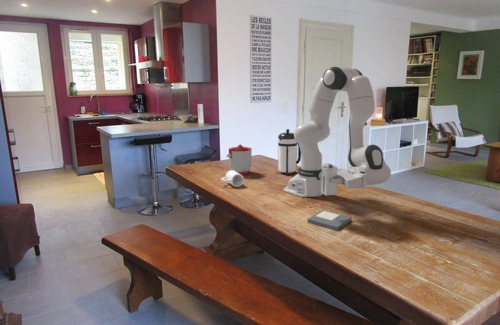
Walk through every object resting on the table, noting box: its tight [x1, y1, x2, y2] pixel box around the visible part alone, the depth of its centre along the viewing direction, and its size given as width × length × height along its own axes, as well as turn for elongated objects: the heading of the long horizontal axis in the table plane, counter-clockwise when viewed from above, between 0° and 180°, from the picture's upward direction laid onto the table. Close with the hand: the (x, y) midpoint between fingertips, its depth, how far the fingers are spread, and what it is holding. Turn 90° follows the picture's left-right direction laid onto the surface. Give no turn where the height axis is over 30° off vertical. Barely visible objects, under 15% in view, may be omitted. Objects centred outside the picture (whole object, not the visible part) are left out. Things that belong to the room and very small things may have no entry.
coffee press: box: [276, 128, 301, 177], centre depth 233 cm, size 17×16×30 cm
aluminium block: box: [321, 164, 339, 196], centre depth 151 cm, size 5×5×13 cm
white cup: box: [322, 162, 336, 167], centre depth 216 cm, size 8×8×10 cm
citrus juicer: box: [226, 143, 253, 176], centre depth 233 cm, size 16×17×20 cm
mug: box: [221, 169, 245, 188], centre depth 207 cm, size 12×10×8 cm
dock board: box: [307, 209, 352, 231], centre depth 152 cm, size 14×14×2 cm
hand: (327, 178), depth 151 cm, fingers closed on aluminium block, 5 cm apart
